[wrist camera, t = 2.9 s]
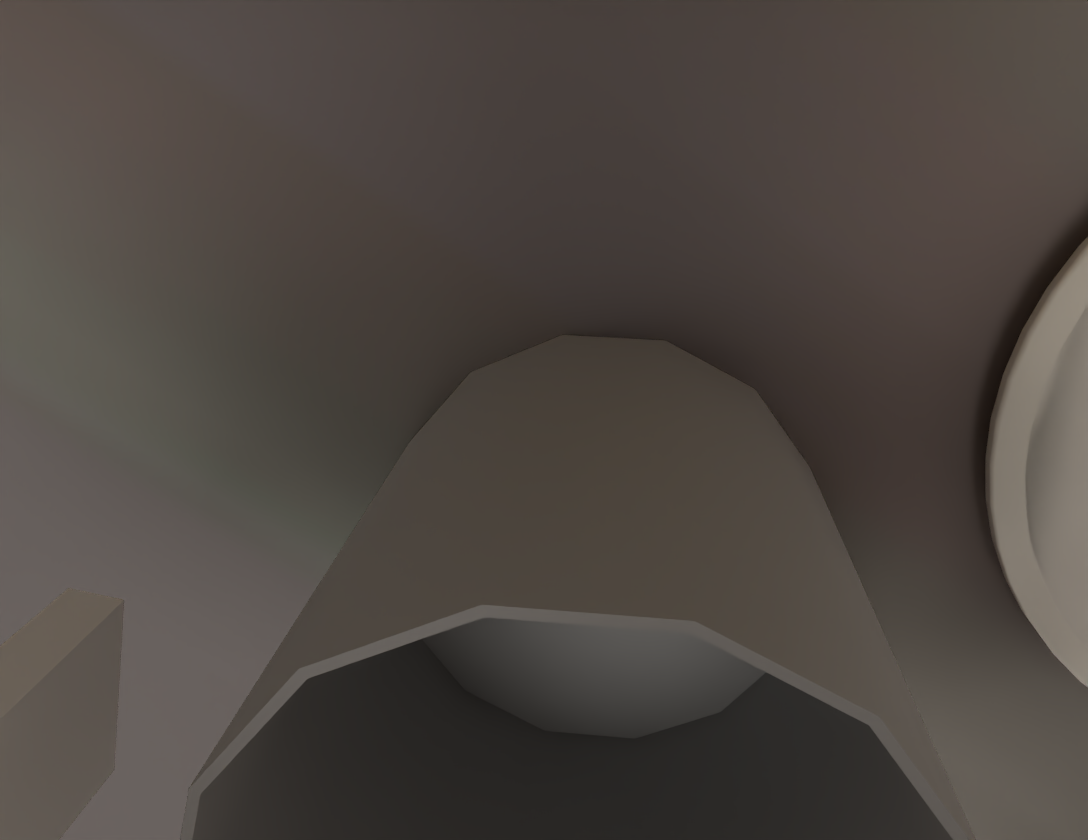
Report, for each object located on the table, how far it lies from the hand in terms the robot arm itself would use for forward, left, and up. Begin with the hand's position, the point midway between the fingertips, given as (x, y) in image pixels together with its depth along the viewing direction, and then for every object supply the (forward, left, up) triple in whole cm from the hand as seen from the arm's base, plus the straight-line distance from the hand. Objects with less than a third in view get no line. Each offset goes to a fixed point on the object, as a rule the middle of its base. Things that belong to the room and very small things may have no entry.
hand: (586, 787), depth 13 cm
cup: (0, 0, -7) cm, 7 cm away
